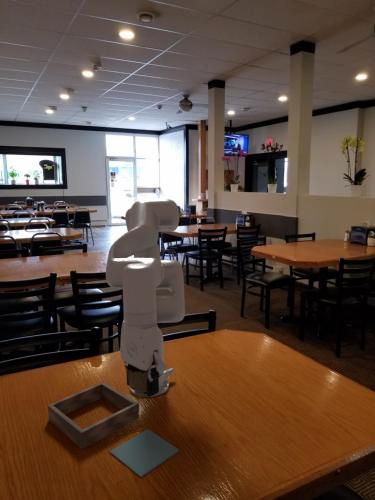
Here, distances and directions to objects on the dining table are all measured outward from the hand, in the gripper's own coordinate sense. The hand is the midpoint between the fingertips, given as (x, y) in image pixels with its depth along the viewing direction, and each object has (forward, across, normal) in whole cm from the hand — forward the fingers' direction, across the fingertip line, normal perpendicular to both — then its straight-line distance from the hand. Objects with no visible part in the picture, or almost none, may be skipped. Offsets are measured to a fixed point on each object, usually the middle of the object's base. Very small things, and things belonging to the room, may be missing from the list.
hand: (142, 388), depth 91 cm
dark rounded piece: (+2, 0, 0) cm, 2 cm away
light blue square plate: (+17, 0, 0) cm, 17 cm away
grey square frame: (+17, -21, -1) cm, 27 cm away
